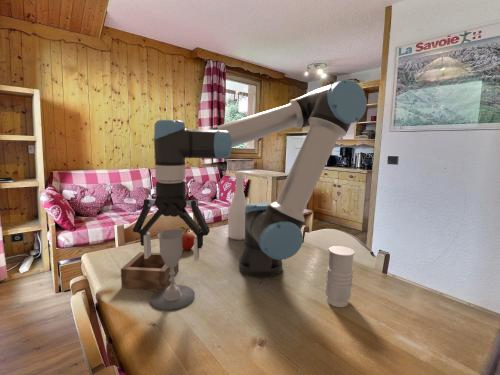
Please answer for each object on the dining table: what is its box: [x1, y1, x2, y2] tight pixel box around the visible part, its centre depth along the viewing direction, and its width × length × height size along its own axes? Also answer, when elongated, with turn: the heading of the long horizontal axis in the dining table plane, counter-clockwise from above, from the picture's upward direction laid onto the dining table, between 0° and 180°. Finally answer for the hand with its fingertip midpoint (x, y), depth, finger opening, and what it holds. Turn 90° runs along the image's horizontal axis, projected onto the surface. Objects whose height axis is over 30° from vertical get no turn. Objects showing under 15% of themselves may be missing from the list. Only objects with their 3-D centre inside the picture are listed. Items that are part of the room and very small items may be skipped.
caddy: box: [120, 251, 179, 291], centre depth 90 cm, size 13×13×6 cm
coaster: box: [149, 284, 196, 311], centre depth 80 cm, size 12×12×1 cm
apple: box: [176, 226, 196, 251], centre depth 114 cm, size 8×7×10 cm
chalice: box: [157, 229, 185, 301], centre depth 78 cm, size 7×7×18 cm
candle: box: [325, 245, 355, 308], centre depth 79 cm, size 7×7×15 cm
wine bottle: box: [227, 171, 248, 241], centre depth 129 cm, size 10×10×30 cm
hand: (172, 258), depth 78 cm, fingers open, 13 cm apart
